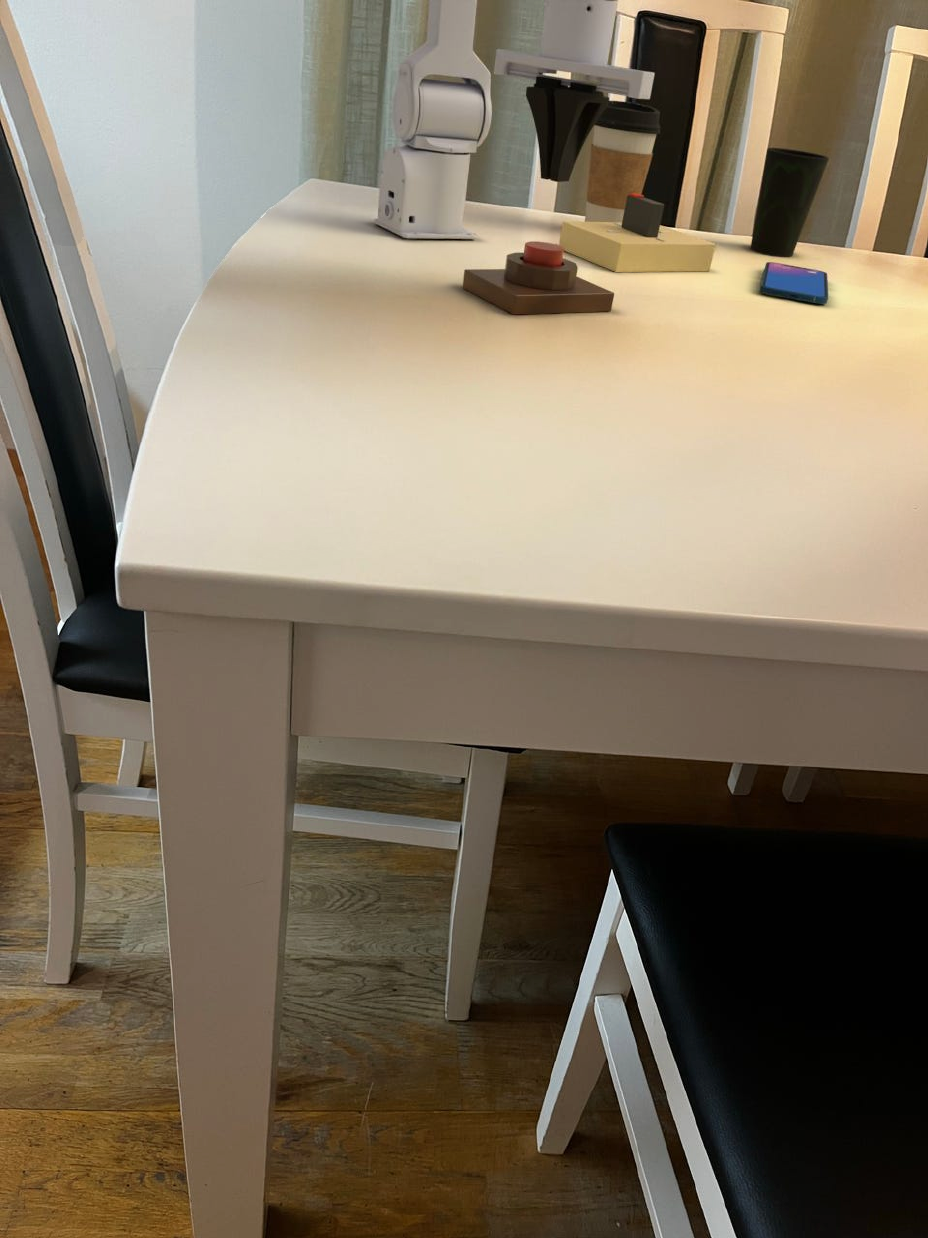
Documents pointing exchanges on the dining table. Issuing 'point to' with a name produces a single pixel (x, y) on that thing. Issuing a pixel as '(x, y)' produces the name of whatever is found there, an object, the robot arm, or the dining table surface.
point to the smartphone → (795, 283)
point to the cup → (785, 199)
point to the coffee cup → (619, 158)
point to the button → (543, 254)
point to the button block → (537, 288)
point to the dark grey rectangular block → (642, 215)
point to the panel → (635, 248)
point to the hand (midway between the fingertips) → (554, 179)
